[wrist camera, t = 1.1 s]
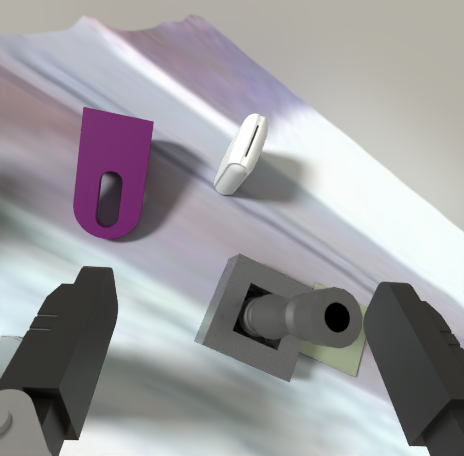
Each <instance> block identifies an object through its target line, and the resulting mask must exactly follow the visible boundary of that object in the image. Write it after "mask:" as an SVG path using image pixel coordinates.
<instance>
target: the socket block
mask: <svg viewBox="0 0 464 456" xmlns="http://www.w3.org/2000/svg"><path fill="white" fill-rule="evenodd" d="M248 290H249V291H251V292H253V293H255V294H257V295H259V296H261V297H262V296H264V295H269V294H276V295H281V296H283V297H285V298H287V299H289V300H290V299H292V298H293V297H294V296H295V295H299V294H303V293H308V292H309V291H313V289H311V288H309V287H307V286H305V285H303V284H301V283H299V282H297V281H295V280H293V279H291V278H289V277H286V276H284V275H282V274H280V273H278V272H276V271H274V270H272V269H270V268H268V267H266V266H264V265H262V264H260V263H258V262H256V261H254V260H252V259H250V258H248V257H246V256H244V255H242V254H238V255H236V256H234V257H232V258H230V259H229V260H228V262H227V265H226V267H225V269H224V272H223V274H222V276H221V279H220V281H219V284H218V286H217V288H216V291H215V293H214V295H213V298H212V300H211V303H210V305H209V307H208V310H207V312H206V314H205V317H204V319H203V322H202V324H201V326H200V329H199V331H198V333H197V336H196V338H195V342H197V343H200V344H202V345H204V346H207V347H209V348H211V349H213V350H216V351H218V352H220V353H223V354H225V355H227V356H230V357H232V358H234V359H236V360H239V361H241V362H243V363H246V364H248V365H250V366H253V367H255V368H257V369H260V370H262V371H264V372H266V373H269V374H271V375H273V376H276V377H278V378H281V379H283V380H285V381H288V382H290V379H291V376H292V373H293V370H294V366H295V363H296V360H297V357H298V354H299V350H300V347H301V344H302V341H303V340H298V339H297V338H295V337H294V336H293V335H291V334H289V335H287V336H285V337H283V338H280V339H276V340H273V339H267V338H265V341H264V343H263V344H261V343H259V342H257V341H254V340H252V339H250V338H248V337H245V336H243V335H241V334H239V333H236V332H234V331H232V330H233V328H234V325H235V322H236V320H237V317H238V315H239V312H240V310H241V307H242V304H243V302H244V299H245V297H246V294H247V291H248Z"/></svg>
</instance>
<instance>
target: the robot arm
mask: <svg viewBox="0 0 464 456" xmlns="http://www.w3.org/2000/svg"><path fill="white" fill-rule="evenodd" d="M37 314H38V315H37V317H35V319H34V320H33V322H32V324H31V326H30V329H29V331H27V333H26V334H25V336H24V338H23V339H22V338H19V337H15V336H0V456H59V453H60V450H61V447H62V445H63V442H64V440H79V437H80V434H81V431H82V428H83V424H84V421H85V418H86V415H87V412H88V409H89V406H90V403H91V400H92V396H93V393H94V390H95V387H96V384H97V381H98V378H99V375H100V371H101V368H102V365H103V362H104V359H105V356H106V353H107V350H108V347H109V343H110V340H111V337H112V334H113V331H114V328H115V325H116V321H117V315H118V300H117V294H116V287H115V281H114V274H113V270H112V268H109V267H91V266H84V267H82V269H81V270H80V272H79V274H78V276H77V278H76V280H75V282H74V284H61V285H60V286H59V287H58V288H57V289H55V290H54V291H53V292H52V293H51V294H50V295H48V296H47V297H46V299H45V301H44V303H43V304H42V306H41V308H40V310H39V311H38V313H37ZM363 328H364V333H365V336H366V338H367V341H368V343H369V346H370V348H371V351H372V354H373V356H374V359H375V361H376V364H377V366H378V369H379V371H380V374H381V376H382V379H383V381H384V384H385V386H386V389H387V391H388V394H389V396H390V399H391V401H392V404H393V406H394V409H395V411H396V414H397V416H398V419H399V422H400V424H401V427H402V429H403V432H404V434H405V437H406V439H407V442H408V444H409V446H426V447H427V449H428V451H429V454H430V456H464V349H463V348H461V347H460V343H459V342H458V340H457V339H456V337H455V336H454V334H452V333H451V332H452V331H451V329H450V328H449V326H448V325H447V323H446V322H445V320H444V319H443V317H442V316H441V315H440V314H439V313H438V312H437V311H436V310H435V309H434V308H433V307H432V306H431V305H429V304H428V303H427V302H426V301H421V300H420V298H419V297H418V295H417V293H416V292H415V290H414V289H413V287H412V286H411V285H410V284H408V283H398V282H381V283H380V284H379V285H378V287H377V289H376V291H375V293H374V295H373V298H372V300H371V302H370V304H369V306H368V308H367V310H366V312H365V315H364V319H363Z"/></svg>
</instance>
